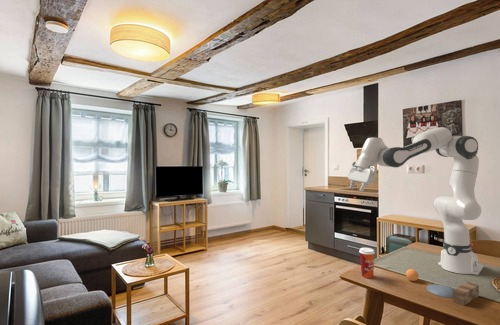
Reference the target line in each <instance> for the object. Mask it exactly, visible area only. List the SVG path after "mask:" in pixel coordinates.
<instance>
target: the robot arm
mask: <svg viewBox="0 0 500 325" xmlns="http://www.w3.org/2000/svg"><path fill="white" fill-rule="evenodd" d="M434 150H435V152H436V154H438V155H439V156H440V157H444V158H453V162H454V163H453V166H452V170H451V173H450V178H449V180H448V184H449V187H450V188H451V189H452V195H453V196H451V195H441V196H437V197H436V198H435V199H434V201H433V208H434V211H436V212H437V214H438V216H439V217H440V220H441V224H442V226H443V238H444V239H443V240H444V241H443V245H442V246H443V249H442V250H440V251H441V253H440V261H438V262H437V264H438V265H439V266H441V268H442V269H444V270H445V271H448V272H452V273H456V274H460V275H461V274H462V275H476V276H478V275H480V273H481V272H482V270H483V268H484V265H483V264H481V263H479V258H478V256H477V255H476V254H475V253H474V251H473V250H472V248H473V247H474V244H473V242H470V230H469V228H468V226H467V225H466V224H465V222H464V221H475V220H478V219H479V218H480V216H481V214H482V208H481V205H480V203H479V202H478V201H477V199H476V195H475V194H476V193H475V186H476V180H477V176H478V172H479V163H480V161H479V157H478V155H477V154H478V150H479V142H478V140H477V139H476V138H475V137H474V136H470V135H461V136H460V135H457V136H452V131H450V129H448V128H447V127H443V126H440V127H434V128H432V129H431V128H430V129H427V130H425V131H422V132H420V133H418V134H416V135H415V136H414V137H413V139H412V143H411V144H408V145H406V146H404V147H400V146H395V147H388V146H387V145H386V143H385V142H384V141H383V138H380V137H377V136H370V137H367V139H366V140H365V141H364V143H363V145H362V148H361V150H360V155H359V156H358V159H357V160H356V161H353V162H352V163H351V167H350V170H349V173H348V175H347V179H348V180H349V181H350V186H349V189H350V190H354V189H355V184H356V183H360V184H361V186H360V187H359V189H358V192H362V193H363V192H364V190H365V189H366V188H367V187H368V185H370V186H372V185H374V181H375V179H376V175H377V174H376V173H377V172H376V170H377V169H376V165H378V166H380V167H387V168H388V167H389V168H400V167H402V166H404V165H405V164H406V163H407V161H409V160H410V159H412V158H415V157H416V156H419V155H421V154H426V153H430V152H432V151H434Z"/></svg>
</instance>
